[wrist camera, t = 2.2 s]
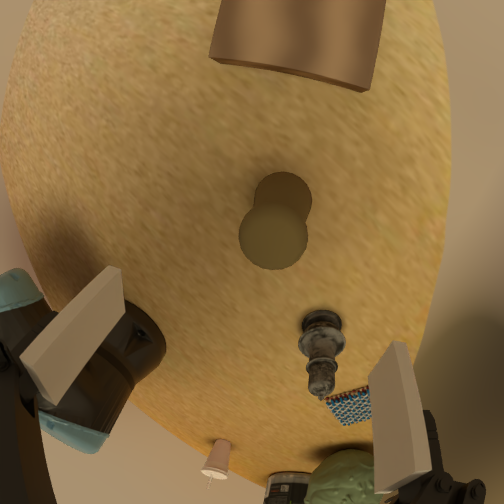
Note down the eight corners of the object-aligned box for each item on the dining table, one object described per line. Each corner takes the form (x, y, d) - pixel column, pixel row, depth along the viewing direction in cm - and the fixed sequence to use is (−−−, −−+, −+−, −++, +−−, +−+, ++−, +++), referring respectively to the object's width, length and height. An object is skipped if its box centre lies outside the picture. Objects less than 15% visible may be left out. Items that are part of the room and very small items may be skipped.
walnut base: (221, 63, 24) (208, 57, 21) (247, -43, 17) (239, -59, 14) (361, 92, 23) (369, 89, 20) (380, -18, 16) (389, -32, 13)
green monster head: (380, 458, 55) (381, 523, 37) (309, 463, 59) (301, 528, 42) (392, 433, 48) (396, 513, 30) (308, 440, 52) (298, 520, 35)
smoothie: (222, 435, 57) (207, 485, 45) (241, 445, 58) (229, 494, 46) (205, 438, 59) (190, 485, 47) (224, 448, 61) (211, 494, 49)
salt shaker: (293, 315, 37) (283, 390, 26) (336, 302, 35) (341, 378, 24) (308, 345, 39) (303, 418, 28) (349, 334, 37) (354, 407, 26)
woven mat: (342, 420, 48) (342, 428, 46) (322, 395, 44) (322, 404, 43) (392, 405, 44) (393, 414, 42) (380, 377, 40) (381, 387, 39)
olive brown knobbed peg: (253, 171, 29) (225, 204, 19) (312, 172, 28) (316, 206, 18) (255, 225, 32) (231, 280, 22) (310, 228, 31) (311, 285, 21)
